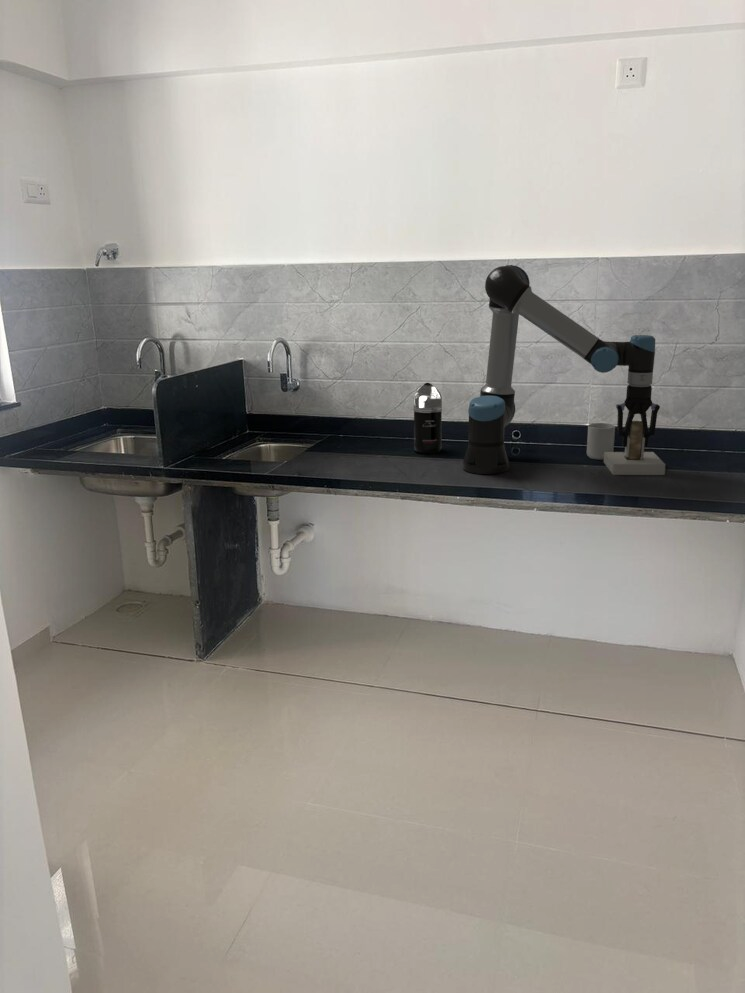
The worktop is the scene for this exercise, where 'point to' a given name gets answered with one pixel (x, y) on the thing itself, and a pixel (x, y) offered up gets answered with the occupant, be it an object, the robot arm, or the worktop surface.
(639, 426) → the peg
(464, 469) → the robot arm
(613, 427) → the mug
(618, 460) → the socket block
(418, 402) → the black silver bottle
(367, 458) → the worktop surface
